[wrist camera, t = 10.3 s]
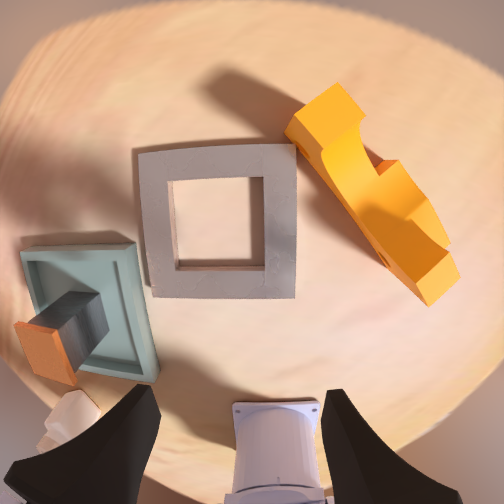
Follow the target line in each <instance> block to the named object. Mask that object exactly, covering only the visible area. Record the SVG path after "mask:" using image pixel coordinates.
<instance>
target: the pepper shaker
mask: <svg viewBox="0 0 504 504" xmlns="http://www.w3.org/2000/svg"><path fill="white" fill-rule="evenodd" d="M100 414H101V411H100V409H99V408H98V407H97V406H96V405H95V403H94V402H93V401H92V400H91V399H90V398H89V397H88V396H87V395H86V394H85V392H83V391H82V390H76V391H72V392H68V393H65V394H64V396H63V397H62V398H61V400H60V401H59V402H58V404H57V405H56V407H55V408H54V409H53V411H52V412H51V413H50V415H49V416H48V418H47V419H46V420H45V422H44V424H45V426H46V428H47V430H48V432H47V433H46V434H45V435H44V436H43V437H42V439H41V441H40V442H39V444H38V445H37V447H36V448H37V449H38V451H39V452H40V453H41V454H42V453H45V452H47V451H50V450H52V449H54V448H56V447H58V446H60V445H62V444H64V443H66V442H68V441H70V440H71V439H73V438H75V437H76V436H78V435H79V434H81V433H82V432H84V431H85V430H86V429H88V428H89V427H90V426H92V425H93V424H94V423H95V422H96V421H97V419H98V418H99V416H100Z"/></svg>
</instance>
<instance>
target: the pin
mask: <svg viewBox="0 0 504 504" xmlns="http://www.w3.org/2000/svg"><path fill="white" fill-rule="evenodd" d="M14 328H15V330H16V333H17V335H18V338H19V340H20V343H21V345H22V348H23V350H24V352H25V354H26V357H27V359H28V361H29V363H30V365H31V367H32V370H33V372H34V374H37V375H39V376H42V377H45V378H48V379H51V380H54V381H58V382H61V383H64V384H67V385H71V386H74V385H75V384H76V383H77V378H76V376H75V372H76V371H77V370H78V369H79V367H80V366H81V365H82V364H83V362H84V361H85V360H86V359H87V357H88V356H89V355H90V354H91V353H92V351H93V350H94V349H95V348H96V347H97V345H98V344H99V343H100V342H101V341H102V339H103V338H104V337H105V336H106V335H107V333H108V332H109V331H110V329H109V326H108V322H107V318H106V315H105V311H104V307H103V303H102V298H101V294H100V293H94V292H79V291H68V292H67V293H65V294H64V295H62V296H61V297H60V298H58V299H57V300H56V301H55V302H53V303H52V304H51V305H49V306H48V307H47V308H45V309H44V310H43V311H42V312H40V313H39V314H38V315H36V316H35V317H34V318H33V319H31V320H30V321H29V322H28V323H24V322H19V321H18V322H17V323H16V324H15V325H14Z"/></svg>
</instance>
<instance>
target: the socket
mask: <svg viewBox="0 0 504 504" xmlns="http://www.w3.org/2000/svg"><path fill="white" fill-rule="evenodd" d="M138 167H139V185H140V199H141V211H142V221H143V231H144V240H145V248H146V256H147V263H148V270H149V277H150V283H151V289H152V295H153V297H159V298H196V299H286V298H295V281H296V233H297V176H296V144H245V145H223V146H208V147H195V148H183V149H173V150H164V151H156V152H148V153H141V154H138ZM231 177H263V183H264V237H265V266H179V258H178V248H177V238H176V226H175V213H174V199H173V182H172V181H178V180H192V179H209V178H231Z"/></svg>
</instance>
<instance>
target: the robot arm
mask: <svg viewBox="0 0 504 504" xmlns="http://www.w3.org/2000/svg"><path fill="white" fill-rule="evenodd" d="M314 408H315V409H314ZM238 410H239V411H238ZM319 410H320V402H319V401H302V402H272V403H251V402H235V403H233V405H232V411H233V420H234V428H235V437H236V445H237V450H236V459H235V469H234V478H233V488H232V494H225V500H224V504H463V502H462V499H461V497H460V495H459V493H458V491H456V490H453V489H451V488H449V487H447V486H444V485H442V484H440V483H438V482H436V481H435V480H433V479H431V478H429V477H427V476H426V475H424V474H423V473H421V472H420V471H418V470H416V469H415V468H414V467H412V466H411V465H409V464H408V463H407V462H406V461H404V460H403V459H402V458H401V457H399V456H398V455H397V454H396V453H395V452H394V451H393V450H392V449H390V448H389V447H388V446H387V445H386V444H385V443H384V442H383V441H382V439H381V438H380V437H379V436H378V435H377V434H376V433H375V432H374V431H373V430H372V428H371V427H370V426H369V425H368V423H367V422H366V421H365V420H364V418H363V417H362V416H361V415H360V413H359V412H358V411H357V409H356V408H355V406H354V405H353V404H352V402H351V401H350V399H349V398H348V396H347V395H346V393H345V391H344V390H343V389H335V390H327V394H326V398H325V403H324V408H323V412H322V417H321V429H322V439H323V444H324V449H325V453H326V458H327V462H328V467H329V471H330V476H331V480H332V485H333V492H334V497H333V496H329V497H326V498H325V499H324V492H323V488H322V487H320V479H319V471H318V463H317V456H316V449H315V441H314V434H315V430H316V425H317V420H318V415H319ZM160 420H161V413H160V411H159V408H158V405H157V403H156V400H155V397H154V394H153V391H152V388H151V386H149V385H142V384H137V385H136V386H135V387H134V388H133V389H132V390H131V391H130V392H129V393H128V394H127V395H125V396H124V397H123V398H122V399H121V400H120V401H119V402H118V403H117V404H116V405H115V406H114V407H113V408H112V409H111V410H109V411H108V412H107V413H106V414H105V415H104V416H103V417H102V418H100V419H99V420H98V421H97V422H95V423H94V424H93V425H92V426H90V427H89V428H88V429H86V430H85V431H84V432H82V433H81V434H79V435H78V436H76V437H75V438H73V439H71V440H70V441H68V442H66V443H64V444H62V445H60V446H58V447H56V448H54V449H52V450H50V451H47V452H45V453H42V454H40V455H37V456H34V457H31V458H27V459H23V460H19V461H15V462H14V463H13V464H12V466H11V467H10V469H9V471H8V472H7V474H6V476H5V478H4V482H5V483H6V484H7V485H8V486H9V487H10V488H11V489H13V490H14V491H15V492H16V493H17V494H19V495H20V496H21V497H22V498H23V499H25V500H26V501H27V503H26V504H136V503H137V496H138V492H139V487H140V483H141V478H142V476H143V472H144V470H145V467H146V464H147V462H148V459H149V456H150V454H151V451H152V448H153V445H154V443H155V440H156V437H157V434H158V429H159V425H160ZM0 504H23V503H22V502H20V501H19V500H17V499H16V498H15V497H13V496H12V495H11V494H9V493H8V492H6V491H5V490H4V491H3V492H2V494H1V496H0ZM219 504H222V503H219Z"/></svg>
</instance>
